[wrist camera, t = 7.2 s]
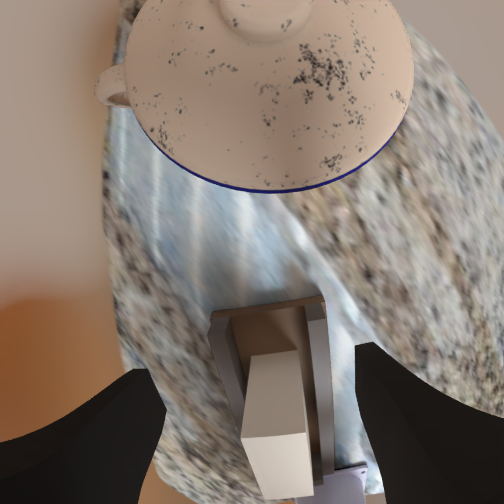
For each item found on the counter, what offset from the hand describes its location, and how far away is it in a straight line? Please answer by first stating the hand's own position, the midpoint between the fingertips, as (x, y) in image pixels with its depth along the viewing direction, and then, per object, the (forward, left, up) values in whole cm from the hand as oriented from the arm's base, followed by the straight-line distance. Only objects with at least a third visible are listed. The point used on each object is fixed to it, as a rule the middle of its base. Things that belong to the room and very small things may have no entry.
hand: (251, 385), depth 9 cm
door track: (-10, 0, -9) cm, 13 cm away
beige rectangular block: (-8, 0, -8) cm, 12 cm away
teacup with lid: (+10, -1, -10) cm, 14 cm away
